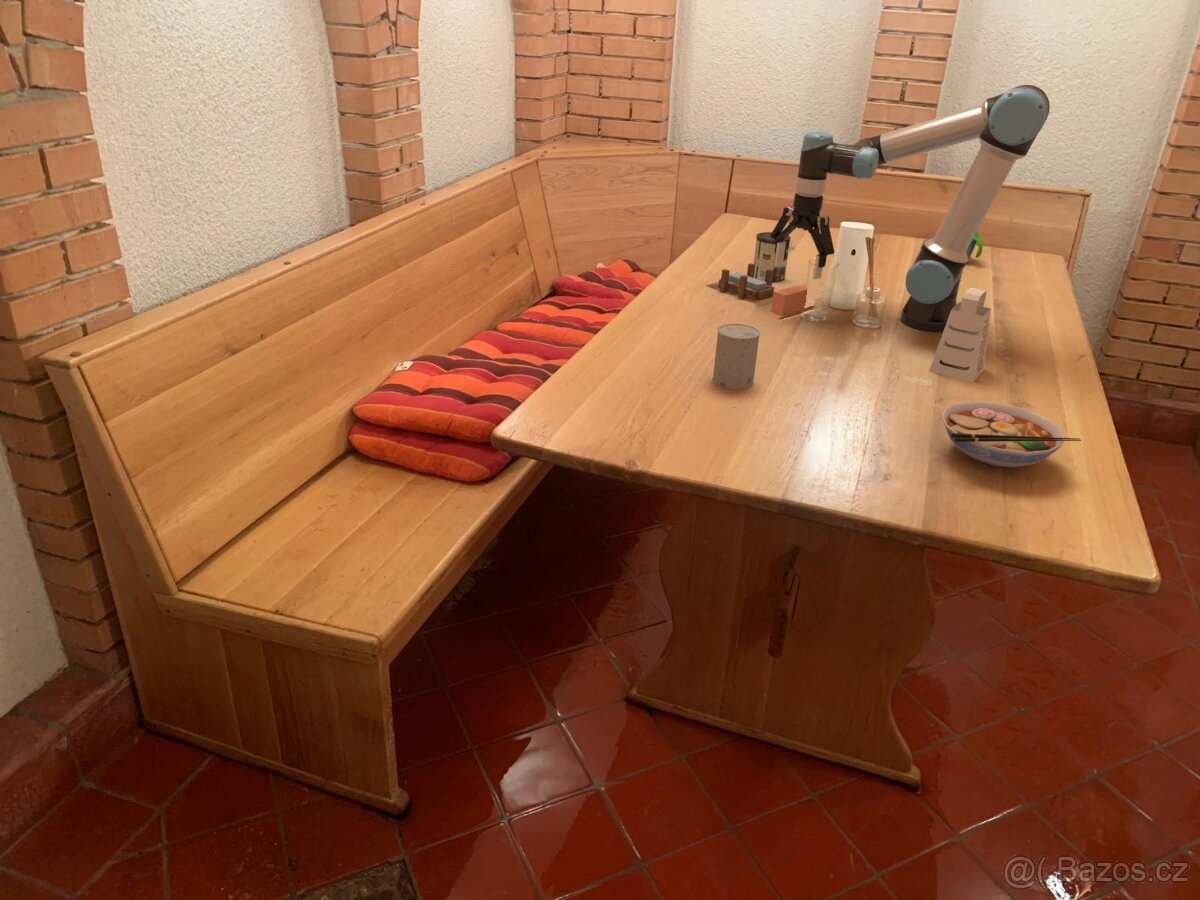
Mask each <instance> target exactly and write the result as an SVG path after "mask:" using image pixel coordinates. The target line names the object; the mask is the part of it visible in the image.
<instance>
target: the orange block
mask: <svg viewBox="0 0 1200 900" xmlns="http://www.w3.org/2000/svg"><path fill="white" fill-rule="evenodd" d="M807 284H808V283H801V284H798V285H795V286H790V287H787V288H783V289H779V290H774V293H773V301H772V303H771V310H770V311H771V312H772V313H775V314H776V315H781V317H778V319H780V320H784V318H785V319H788V318H792V317H796V316H799V315H802V314H803V313H802V310H803V311H804V310H805V309H804V306H805V303H806V295H807ZM791 313H792V314H791ZM801 313H802V314H801ZM787 314H788V315H787Z"/></svg>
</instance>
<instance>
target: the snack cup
mask: <svg viewBox="0 0 1200 900" xmlns="http://www.w3.org/2000/svg"><path fill="white" fill-rule="evenodd" d="M980 236H981V235H980V233H979V232H976V234H975V236H974V237H973V239H972V241H971V243H970V245H969V247H968V248H967V257H968V261H967V263H966V264H968V263H969V262H970V259H971V257H972V255H973V253H974V250H975V247H976V245H977V247H978V248H977V251H976V254H975V256H974V257H975V258H976V259H977V258H980V257H981V255H982V253H983V241H982V239H981V238H980Z"/></svg>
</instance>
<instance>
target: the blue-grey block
mask: <svg viewBox="0 0 1200 900" xmlns="http://www.w3.org/2000/svg"><path fill="white" fill-rule="evenodd" d="M743 275H745V276H747V274H743V273H741V272H732V273H729V280H728V281H730V282H733V283H736V284H739V283H740V276H743ZM747 288H750V289H753V290H756V291H760V290H764V289H766V288H767V282H764V281H761V280H758V279H755V278H752V277H749V276H748V279H747Z"/></svg>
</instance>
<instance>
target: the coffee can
mask: <svg viewBox="0 0 1200 900" xmlns="http://www.w3.org/2000/svg"><path fill="white" fill-rule="evenodd" d="M772 232H773V231H765V232H759V233H757V234H756V237H755V238H756V240H755V241H756V242H755V249H754V257H753V259H754V260H753V264H755V273H754V278H755V279H758V280H761V281H764V282H765V277H766V270H768V269H771V270H774V272H773V279H772V283H781V282H783V281H785V280H786V272H787V266H788V256H789V248H790V242H791V240H792V239H791V236H790V235H788V236H787V237H786V238H785V239H784V240H785V241H782V242H786V245H785V252H784V259H783V265H780V266H774V264H775V257H776V253H775V244H776V241H775V239H773V238H771V237H770V235H771V233H772Z"/></svg>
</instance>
